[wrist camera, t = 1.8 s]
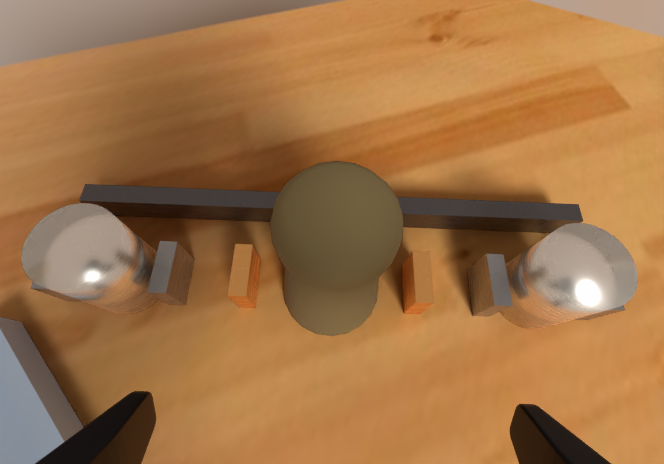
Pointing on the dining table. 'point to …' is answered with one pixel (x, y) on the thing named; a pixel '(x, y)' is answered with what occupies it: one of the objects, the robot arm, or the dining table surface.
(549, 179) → the dining table surface
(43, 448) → the tray
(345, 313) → the olive knobbed post
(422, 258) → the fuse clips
